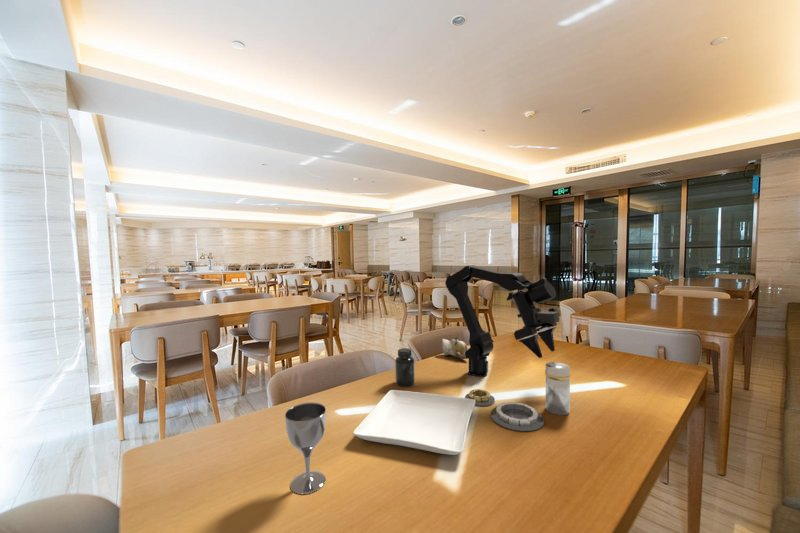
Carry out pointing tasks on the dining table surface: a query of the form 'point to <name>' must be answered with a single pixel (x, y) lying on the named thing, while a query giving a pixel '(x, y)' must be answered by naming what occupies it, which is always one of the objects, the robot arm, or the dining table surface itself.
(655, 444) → the dining table surface
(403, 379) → the supplement bottle
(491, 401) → the brass collar
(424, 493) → the dining table surface
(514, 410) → the collar
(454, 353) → the ceramic sculpture
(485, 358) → the robot arm
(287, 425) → the wine glass
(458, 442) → the square plate
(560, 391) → the cylinder
